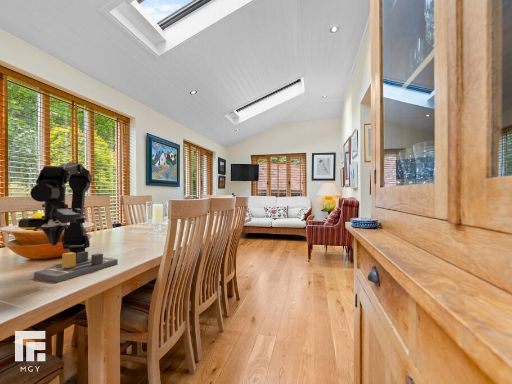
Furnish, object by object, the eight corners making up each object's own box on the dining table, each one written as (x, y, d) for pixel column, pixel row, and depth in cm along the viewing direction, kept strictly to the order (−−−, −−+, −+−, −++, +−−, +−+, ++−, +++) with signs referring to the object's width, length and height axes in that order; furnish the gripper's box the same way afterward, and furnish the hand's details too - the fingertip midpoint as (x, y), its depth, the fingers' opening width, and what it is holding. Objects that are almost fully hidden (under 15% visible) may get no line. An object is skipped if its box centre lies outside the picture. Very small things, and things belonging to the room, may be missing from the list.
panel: (34, 277, 90) (34, 261, 90) (97, 260, 113) (97, 248, 113) (56, 282, 86) (56, 265, 86) (117, 263, 108) (117, 250, 108)
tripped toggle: (62, 267, 95) (62, 253, 95) (70, 265, 97) (70, 252, 97) (67, 268, 94) (67, 254, 94) (75, 266, 96) (75, 252, 96)
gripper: (40, 202, 79) (39, 252, 79) (96, 201, 97) (95, 242, 96) (17, 201, 83) (16, 250, 82) (74, 201, 100) (74, 240, 100)
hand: (54, 245), depth 90 cm, fingers closed
